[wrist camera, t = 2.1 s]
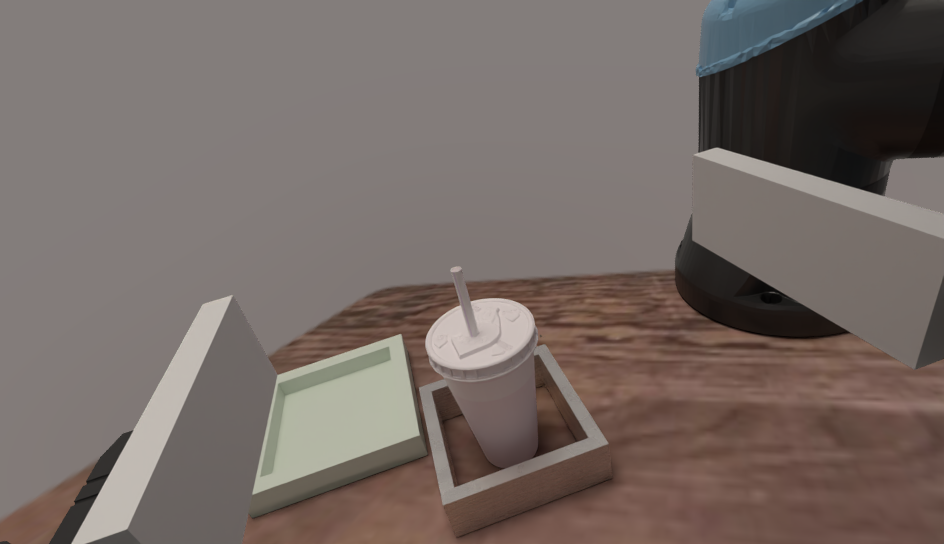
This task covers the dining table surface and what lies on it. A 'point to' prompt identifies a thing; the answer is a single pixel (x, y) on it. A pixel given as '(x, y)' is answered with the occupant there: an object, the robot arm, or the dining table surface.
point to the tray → (338, 425)
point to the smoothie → (490, 371)
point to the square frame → (524, 480)
